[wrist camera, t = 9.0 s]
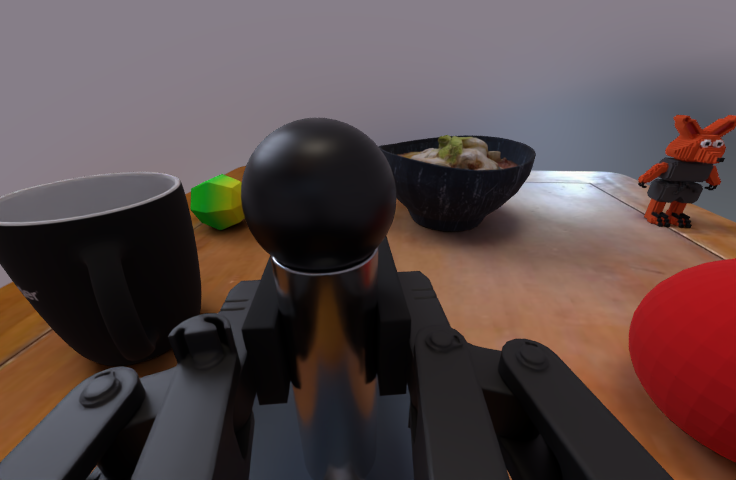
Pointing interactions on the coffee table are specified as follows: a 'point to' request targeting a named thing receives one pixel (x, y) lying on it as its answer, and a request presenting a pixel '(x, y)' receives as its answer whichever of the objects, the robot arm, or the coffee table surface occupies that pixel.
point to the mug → (105, 261)
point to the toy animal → (685, 169)
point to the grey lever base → (284, 448)
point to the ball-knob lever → (325, 279)
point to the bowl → (457, 177)
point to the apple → (218, 202)
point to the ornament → (691, 352)
